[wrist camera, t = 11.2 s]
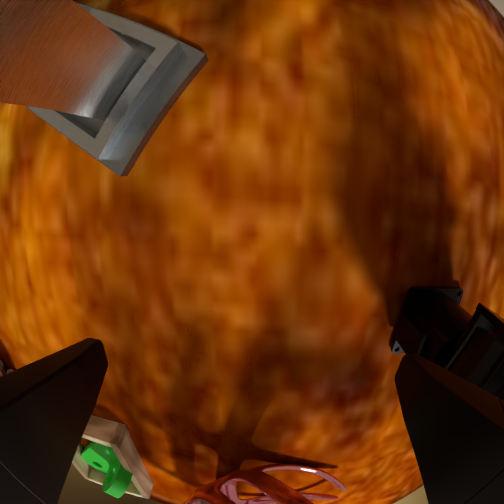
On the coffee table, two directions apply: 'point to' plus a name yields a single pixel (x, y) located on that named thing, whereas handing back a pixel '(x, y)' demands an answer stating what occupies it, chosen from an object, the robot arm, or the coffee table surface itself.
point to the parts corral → (124, 450)
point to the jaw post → (62, 58)
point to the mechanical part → (108, 468)
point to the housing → (132, 95)
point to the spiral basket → (260, 487)
